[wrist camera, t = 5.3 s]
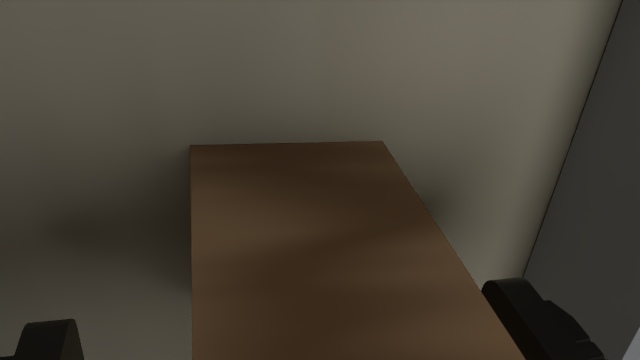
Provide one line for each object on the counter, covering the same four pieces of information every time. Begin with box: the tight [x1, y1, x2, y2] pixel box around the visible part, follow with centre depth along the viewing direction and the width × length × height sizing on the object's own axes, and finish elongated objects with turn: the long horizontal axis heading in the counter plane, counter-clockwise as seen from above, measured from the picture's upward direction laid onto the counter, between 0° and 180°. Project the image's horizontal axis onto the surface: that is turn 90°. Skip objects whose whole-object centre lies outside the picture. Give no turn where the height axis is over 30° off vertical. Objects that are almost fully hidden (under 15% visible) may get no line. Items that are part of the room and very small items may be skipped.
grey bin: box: [523, 0, 640, 360], centre depth 12 cm, size 17×17×4 cm
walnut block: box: [191, 141, 526, 360], centre depth 11 cm, size 4×4×7 cm
